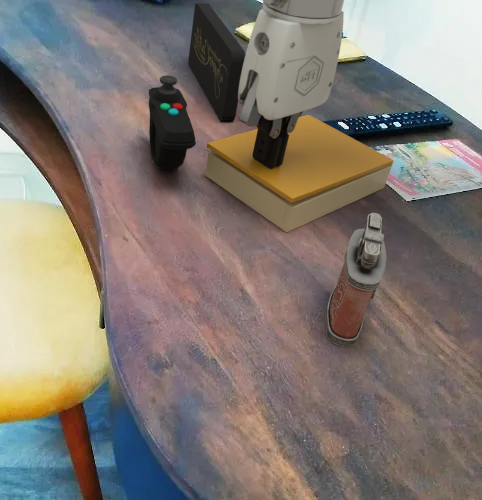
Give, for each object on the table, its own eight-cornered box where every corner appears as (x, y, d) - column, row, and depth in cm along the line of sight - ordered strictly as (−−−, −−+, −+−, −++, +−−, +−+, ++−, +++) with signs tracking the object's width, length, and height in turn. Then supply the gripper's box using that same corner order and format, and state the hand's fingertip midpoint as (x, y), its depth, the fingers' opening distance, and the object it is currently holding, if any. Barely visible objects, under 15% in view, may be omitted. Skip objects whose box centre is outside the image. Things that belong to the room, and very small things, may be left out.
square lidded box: (286, 232, 71) (293, 207, 69) (204, 175, 79) (208, 151, 77) (384, 188, 80) (392, 164, 78) (301, 140, 88) (307, 118, 86)
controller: (173, 142, 85) (182, 69, 79) (192, 194, 75) (203, 116, 69) (141, 142, 84) (147, 68, 78) (156, 194, 75) (163, 116, 68)
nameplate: (234, 123, 90) (246, 53, 84) (221, 123, 90) (232, 53, 84) (199, 63, 106) (207, 1, 100) (187, 63, 106) (195, 1, 100)
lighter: (359, 351, 57) (394, 264, 51) (320, 340, 58) (351, 253, 52) (364, 294, 63) (396, 211, 57) (329, 285, 64) (358, 202, 58)
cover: (291, 203, 68) (292, 198, 67) (206, 147, 76) (207, 142, 76) (392, 164, 78) (394, 160, 77) (307, 118, 86) (308, 114, 85)
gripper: (278, 19, 56) (242, 196, 67) (383, -2, 64) (334, 160, 75) (220, -6, 60) (195, 163, 72) (325, -23, 68) (287, 132, 79)
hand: (266, 161), depth 73 cm, fingers closed
